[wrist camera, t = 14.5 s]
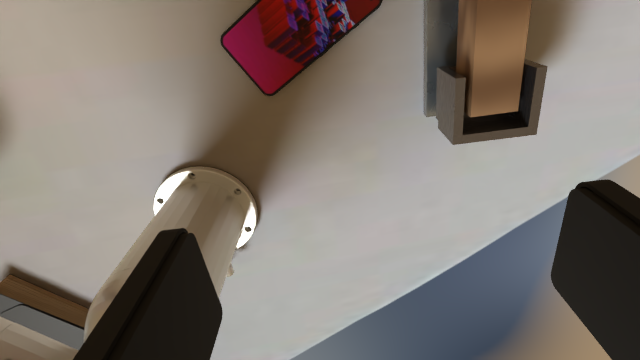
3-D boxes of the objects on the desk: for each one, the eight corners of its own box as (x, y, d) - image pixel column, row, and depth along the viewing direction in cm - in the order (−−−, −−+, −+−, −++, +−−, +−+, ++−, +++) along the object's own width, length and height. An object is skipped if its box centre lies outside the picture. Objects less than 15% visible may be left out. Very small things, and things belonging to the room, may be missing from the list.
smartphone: (215, 39, 35) (336, -78, 30) (218, 38, 35) (336, -76, 31) (268, 100, 37) (386, 2, 33) (269, 98, 38) (385, 1, 34)
